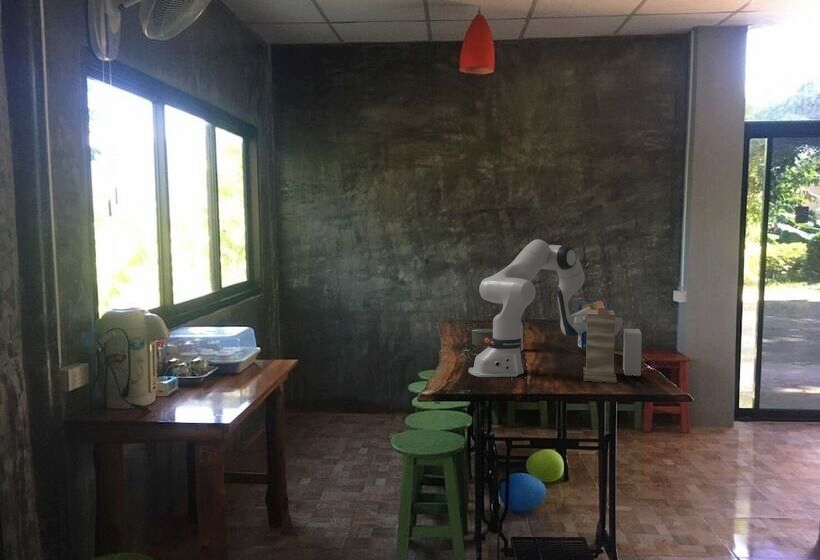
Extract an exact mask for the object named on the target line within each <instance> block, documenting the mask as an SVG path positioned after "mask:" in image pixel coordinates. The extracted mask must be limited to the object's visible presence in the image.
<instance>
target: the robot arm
mask: <svg viewBox="0 0 820 560" xmlns="http://www.w3.org/2000/svg"><path fill="white" fill-rule="evenodd" d="M576 252H577V251H576V250H575V249H574V247H572V246H569V245H565V244H564V245H563V244H562V245H558V244H548V243H547V242H546V241H545V240H543V239H541V238H540V239H539V238H538V239H534V240H532V241H530V242H529V243H528V244H527V245H526V246H525V247H524V248H523V249H522V250H521V251H520V252H519V253H518V255H517V256H516V257H515V258H514V260H513V261H512V262H511V263H510V264H509V265H507V266H506V267H504V268H503V269H501V270H500V271H499V272H496V273H495V274H493V275H491V276H489V277H485V278H483V279H482V280H481V282H480V284H479V286H478V287H479V288H478V292H479V295H480V297H481V299H483V300H484V301H487V302H490V303H493V304H500V305H502V309H501V311H500V312H499V313H498V314H496V315H495V316H494V317H493V319H492V329H493V337H492V338H491V339H488V338H485V340H484V341H485V342H486V343H488V345H487V348H485V349H483V351H481V352H480V353H478V354H477V355H476V356H475V359H474V364H473V367H469V368H468V373H469V374H470V375H473V376H475V377H479V378H501V377H502V378H505V377H506V378H508V377H509V378H510V377H511V378H512V377H514V378H515V377H518V376H519V375H522V374H524V373H525V371H524V368H523V363H522V356H521V352H522V351H521V338H520V324H521V322H522V317H523V314H524V312H525V310H526V308H527V307H528V306H529V305H530V304H531V303H533V301H534V300H535V298H536V293H537V292H536V291H537V290H536V287H535V285H534V282H532V281H533V280H534V279H535V277H536V276H537V275H538V273H539V272H540V271H541V270H545V271H546V270H547V271H556V273H557V275H558V276H557V277H558V279H559V281H558V286H557V288H556V289H555V295H556V296H555V297H556V303H557V309H558V315H559V325H560V330H561V332H562V334H563V335H564V336H565V337H567V338H571V339H574V338H575V337H578V335H579V334H581V333H583V332H585V331H587V309H594V308H592V307H587V308H585V309H583V310H580V311H579V312H578V311H577V312H574V313H572V314H570V310H569V309H570V308H569V301H570V300H571V298H572V297H573V296H574V295H575V294H576V293H577V292H578V291H579V290H580V289H581V288H582V287H583V284H584V283H585V280H586V276H585V272H584V269H583V265H582V264H581V262H580V259H579V257H578V255H577V253H576ZM622 327H623V318H622V317H616V316H615V335H614V337H616V336H618V333H619V332H620V331H621V330H622Z"/></svg>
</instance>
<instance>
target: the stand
mask: <svg viewBox="0 0 820 560" xmlns="http://www.w3.org/2000/svg"><path fill="white" fill-rule="evenodd" d="M615 317H616V314H615V312H614V309H605V315H600V314H598V313H597V309H587V344H586V348H585V349H586V350H585V352H586V353H585V354H586V355H585V357H586V358H585V360H586V361H585V366H583V369H582V370H583V371H582V372H583V374H584V375H583V382H585V381H592V382H591V383H602V382H606V383H607V384H617V374H616V370H615V336H614V335H615ZM606 383H605V384H606Z"/></svg>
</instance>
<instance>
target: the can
mask: <svg viewBox="0 0 820 560" xmlns="http://www.w3.org/2000/svg"><path fill="white" fill-rule="evenodd" d="M492 337H493V328H474V329H471V344H472V345H474V346H485V347H486V346H487V347H488V346H489V345H488V343H486V342H485V341H484V340H485V338H488V339H491V338H492Z"/></svg>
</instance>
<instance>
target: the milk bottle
mask: <svg viewBox="0 0 820 560" xmlns="http://www.w3.org/2000/svg"><path fill="white" fill-rule="evenodd" d="M520 338H521V351H520V352H522V351H524V325H523V322H522V321H521V324H520Z"/></svg>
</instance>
